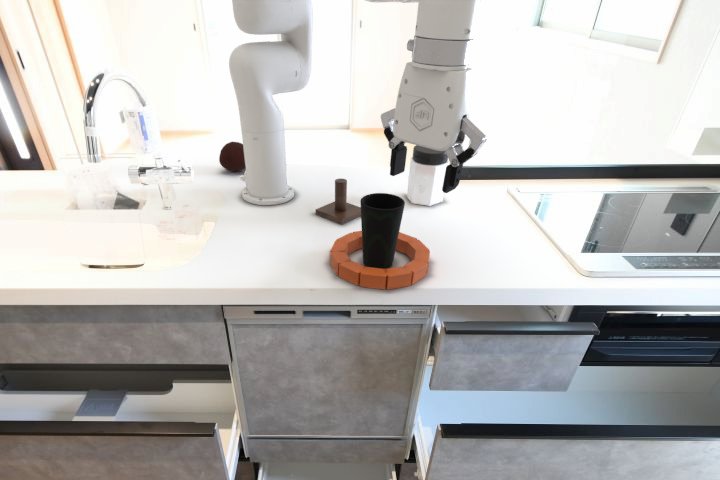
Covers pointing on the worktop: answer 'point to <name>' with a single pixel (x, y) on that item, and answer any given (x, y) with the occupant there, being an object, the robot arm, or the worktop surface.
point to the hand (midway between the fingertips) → (422, 181)
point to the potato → (232, 157)
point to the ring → (376, 275)
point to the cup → (380, 228)
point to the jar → (426, 176)
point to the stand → (339, 206)
